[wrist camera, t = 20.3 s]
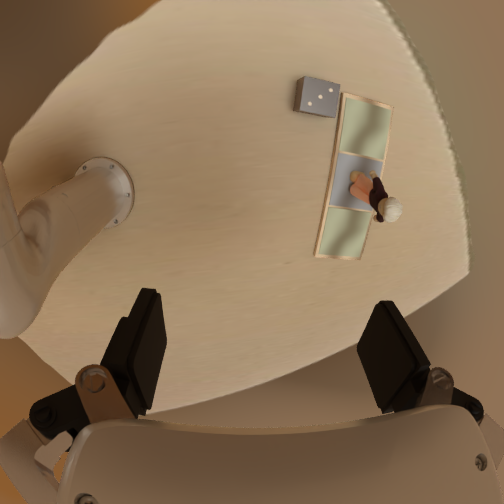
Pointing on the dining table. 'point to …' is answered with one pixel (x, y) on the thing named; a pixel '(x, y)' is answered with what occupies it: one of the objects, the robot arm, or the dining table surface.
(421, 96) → the dining table surface
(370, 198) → the grandmother figurine
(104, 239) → the dining table surface
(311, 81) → the die
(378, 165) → the board
